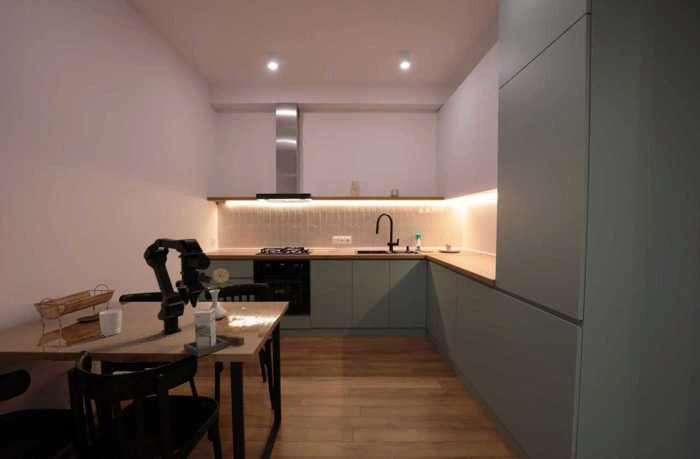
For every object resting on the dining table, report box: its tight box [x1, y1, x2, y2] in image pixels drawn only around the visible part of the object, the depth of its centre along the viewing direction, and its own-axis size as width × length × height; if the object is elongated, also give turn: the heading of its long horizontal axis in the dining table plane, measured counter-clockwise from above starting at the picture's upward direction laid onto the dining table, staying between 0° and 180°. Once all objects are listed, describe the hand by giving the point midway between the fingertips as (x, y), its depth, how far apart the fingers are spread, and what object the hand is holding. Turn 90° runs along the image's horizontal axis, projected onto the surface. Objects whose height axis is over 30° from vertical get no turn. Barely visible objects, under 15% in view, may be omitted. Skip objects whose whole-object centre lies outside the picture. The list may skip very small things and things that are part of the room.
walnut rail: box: [216, 332, 245, 346], centre depth 122 cm, size 20×2×2 cm, turn 65°
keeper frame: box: [183, 337, 229, 358], centre depth 115 cm, size 11×11×2 cm
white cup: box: [98, 308, 123, 337], centre depth 135 cm, size 8×8×10 cm
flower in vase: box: [208, 267, 230, 320], centre depth 155 cm, size 13×11×25 cm
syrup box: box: [193, 308, 217, 350], centre depth 116 cm, size 6×6×14 cm
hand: (190, 305), depth 129 cm, fingers open, 9 cm apart
